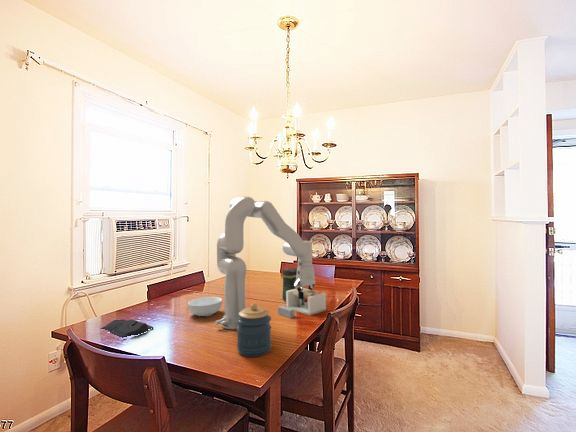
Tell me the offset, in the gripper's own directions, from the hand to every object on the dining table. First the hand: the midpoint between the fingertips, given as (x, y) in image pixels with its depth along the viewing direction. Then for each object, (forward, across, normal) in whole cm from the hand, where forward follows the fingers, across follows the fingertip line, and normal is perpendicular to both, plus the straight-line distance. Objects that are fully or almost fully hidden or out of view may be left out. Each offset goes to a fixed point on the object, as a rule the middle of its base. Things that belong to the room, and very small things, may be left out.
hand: (305, 297), depth 167 cm
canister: (+7, -49, -22) cm, 54 cm away
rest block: (+6, -14, 0) cm, 15 cm away
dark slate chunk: (+7, -80, +34) cm, 87 cm away
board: (-1, 0, 0) cm, 1 cm away
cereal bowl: (+7, -43, +30) cm, 53 cm away
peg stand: (+6, 0, 0) cm, 6 cm away
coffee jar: (+6, +6, +19) cm, 21 cm away
